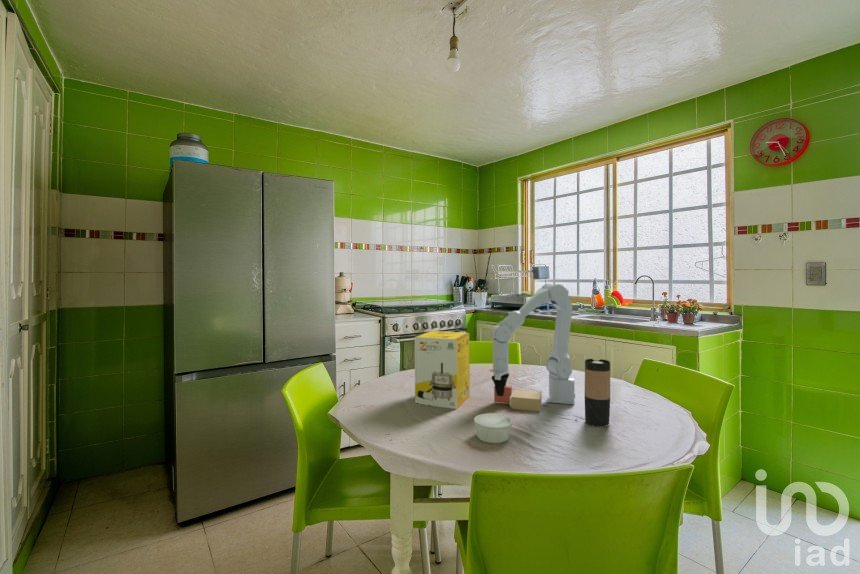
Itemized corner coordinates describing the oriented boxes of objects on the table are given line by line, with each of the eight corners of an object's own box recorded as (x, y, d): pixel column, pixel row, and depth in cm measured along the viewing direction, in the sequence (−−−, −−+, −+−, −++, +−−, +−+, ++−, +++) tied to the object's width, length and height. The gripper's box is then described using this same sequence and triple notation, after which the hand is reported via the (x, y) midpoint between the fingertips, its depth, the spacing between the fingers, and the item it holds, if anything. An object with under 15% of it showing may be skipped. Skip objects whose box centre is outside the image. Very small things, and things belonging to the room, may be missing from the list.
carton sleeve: (541, 403, 149) (541, 392, 149) (540, 411, 141) (540, 399, 140) (514, 400, 152) (514, 389, 152) (511, 408, 144) (511, 396, 144)
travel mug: (598, 429, 125) (599, 364, 124) (579, 421, 131) (579, 360, 131) (615, 424, 128) (615, 362, 127) (595, 416, 135) (595, 357, 134)
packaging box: (415, 403, 150) (414, 337, 149) (431, 391, 165) (430, 330, 164) (456, 409, 144) (456, 339, 143) (469, 396, 159) (469, 332, 158)
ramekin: (512, 446, 113) (512, 428, 113) (472, 444, 115) (472, 425, 115) (511, 431, 124) (511, 414, 124) (475, 428, 126) (475, 412, 126)
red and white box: (537, 401, 149) (537, 386, 149) (536, 408, 142) (536, 392, 141) (496, 398, 154) (496, 382, 153) (493, 404, 146) (493, 388, 146)
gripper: (493, 353, 157) (493, 388, 157) (486, 361, 143) (486, 399, 144) (511, 354, 155) (511, 389, 155) (506, 362, 141) (506, 401, 141)
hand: (500, 394), depth 149 cm, fingers closed on red and white box, 2 cm apart
